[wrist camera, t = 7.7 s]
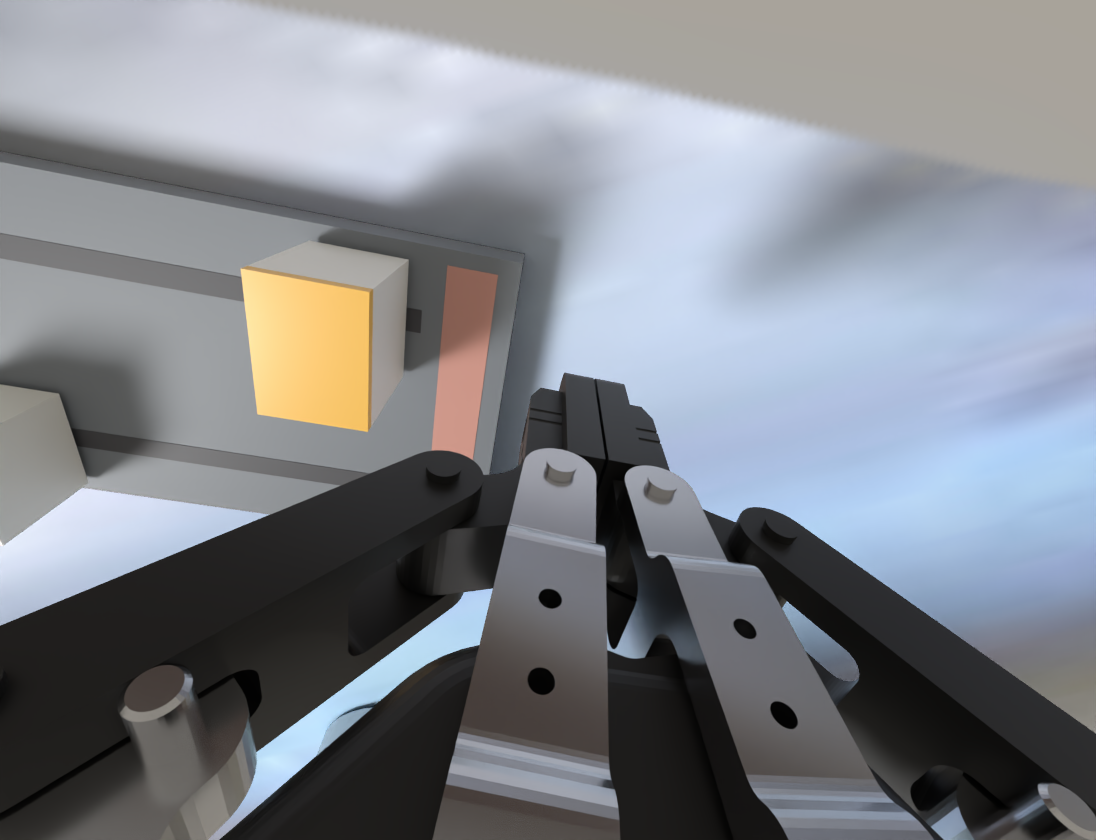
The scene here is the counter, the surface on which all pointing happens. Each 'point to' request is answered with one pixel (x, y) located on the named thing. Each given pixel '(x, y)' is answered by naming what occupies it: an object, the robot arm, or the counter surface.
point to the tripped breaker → (326, 333)
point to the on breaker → (34, 458)
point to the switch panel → (224, 337)
